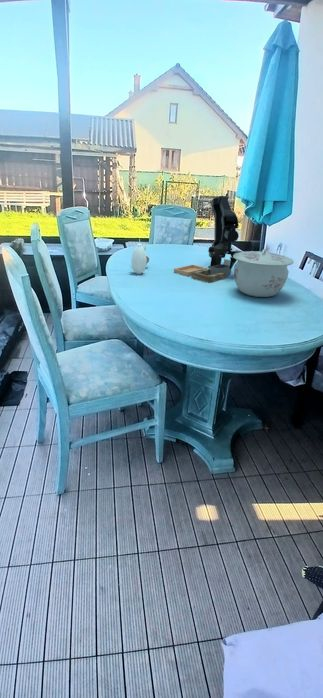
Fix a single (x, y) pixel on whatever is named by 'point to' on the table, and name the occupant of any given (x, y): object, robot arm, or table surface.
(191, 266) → the tray
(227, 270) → the caddy
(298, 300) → the table surface
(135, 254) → the sauce bottle
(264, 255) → the chamber pot
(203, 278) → the dock
